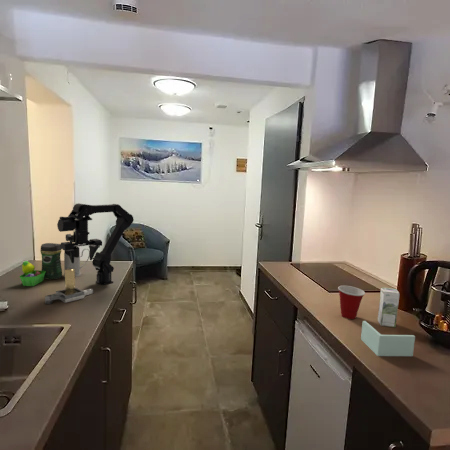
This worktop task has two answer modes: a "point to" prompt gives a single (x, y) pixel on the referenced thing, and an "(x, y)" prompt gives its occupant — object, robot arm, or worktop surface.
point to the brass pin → (69, 281)
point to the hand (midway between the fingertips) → (81, 261)
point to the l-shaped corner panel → (387, 342)
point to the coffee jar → (51, 260)
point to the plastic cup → (350, 301)
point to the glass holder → (76, 264)
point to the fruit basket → (31, 275)
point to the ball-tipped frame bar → (67, 298)
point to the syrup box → (388, 307)
